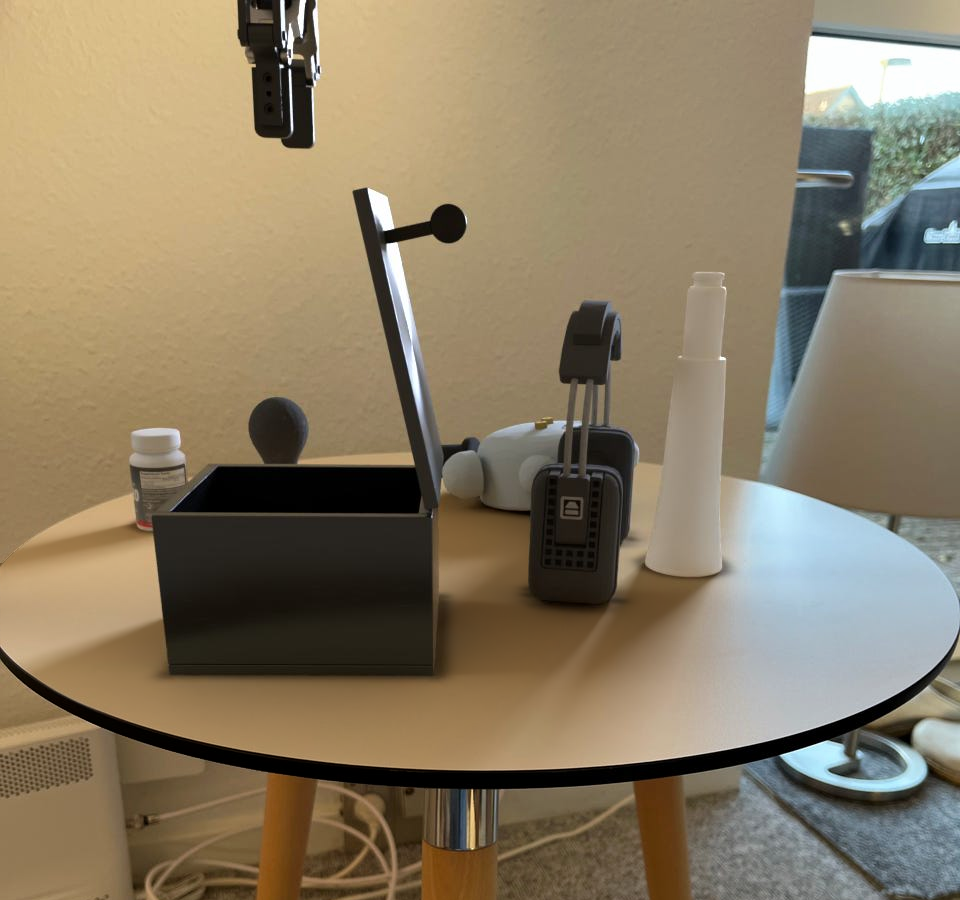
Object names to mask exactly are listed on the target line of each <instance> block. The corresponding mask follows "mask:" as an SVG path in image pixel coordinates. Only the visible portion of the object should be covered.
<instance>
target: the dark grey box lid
mask: <svg viewBox="0 0 960 900" xmlns="http://www.w3.org/2000/svg"><path fill="white" fill-rule="evenodd" d="M352 197H353V202H354V205H355V206H354V207H355V210H356V215H357V218H358V223H359V227H360V232H361V236H362V240H363V241H362V242H363V245H364V250H365V254H366V258H367V262H368V267H369V272H370V275H371V280H372V285H373V288H374V293H375V298H376V302H377V307H378V311H379V315H380V319H381V324H382V327H383V332H384V336H385V341H386V345H387V348H388V349H387V351H388V354H389V359H390V363H391V367H392V372H393V376H394V381H395V386H396V390H397V393H398V398H399V402H400V407H401V411H402V415H403V419H404V420H403V421H404V424H405V428H406V433H407V437H408V442H409V446H410V450H411V454H412V459H413V465H415V468H416V473H417V477H418V481H419V486H420V490H421V494H422V499H423V503H424V507H425V510H430V509H435V508H438V509H439V507H440V498H441V491H442V490H441V489H442V480H443V478H442V469H443V458H444V455H443V451H442V446H441V445H442V441H441V438H440V433H439V428H438V424H437V419H436V414H435V409H434V405H433V400H432V396H431V392H430V391H431V390H430V388H429V382H428V377H427V373H426V369H425V364H424V358H423V354H422V349H421V344H420V340H419V336H418V331H417V327H416V323H415V318H414V313H413V308H412V304H411V299H410V296H409V290H408V285H407V281H406V276H405V271H404V268H403V263H402V257H401V254H400V249H399V245H398V243H401V242H404V241H409V240H414V239H419V238H424V237H428V236H433V237H434V238H435V239H436V240H437V241H439V242H440V243H442V244H448V245H449V244H454V243H456V242H459V241H460V240H461V239H462V238H463V236H464V235H465V234H466V231H467V227H468V220H467V216H466V214H465V212H464V211H463V210H462V209H461V208H460V206H457V205H456V204H453V203H443V204H441V205H439V206H437V207H436V208H435V209H434V210H433V211H432V213H431V215H430V217H429V218H430V219H429V220H426V221H421V222H418V223H413V224H407V225H404V226H400V227H395V225H394V220H393V217H392V211H391V207H390V202H389V198H388V196H387V195H385V194H383V193H381V192H379V191H377V190H374V189H371V188H369V187H366V186H365V187H362V188H357V189H353V190H352Z"/></svg>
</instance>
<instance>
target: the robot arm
mask: <svg viewBox="0 0 960 900" xmlns="http://www.w3.org/2000/svg"><path fill="white" fill-rule="evenodd" d="M236 2H237V3H236V4H237V5H236V6H237V27H238V28H237V31H236V33H237V40H239V44H240V47H242V48H244V56H245V58H246V60H247V63H248V65H254V66H251V67H250V68H251V85H252V86H251V87H252V107H253V108H252V109H253V124H254V126H253V127H254V128H253V129H254V131H255V134H256V135H257V136H258V137H260V138H263V139H277V140H278V139H280V142H281V145H282V146H283V147H285V148H286V149H290V150H291V149H295V150H296V149H297V150H310V149H312V148H313V147H314V146H315V143H316V137H315V135H316V134H315V130H316V129H315V101H314V96H315V95H314V88H316V87H317V82H318V81H319V80H320V76H321V75H322V66H321V65H320V33H319V16H318V14H319V13H318V12H319V10H318V0H237V1H236ZM294 55H300V56H302V58H294Z"/></svg>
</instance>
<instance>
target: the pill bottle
mask: <svg viewBox="0 0 960 900" xmlns="http://www.w3.org/2000/svg"><path fill="white" fill-rule="evenodd" d="M130 439H131V440H130V441H131V442H130V443H131V449H132V450H133V451H134V452H133V453H132V454H131V455H130V456H129V461H128V462H129V464H128V465H129V472H130V480H131V488H132V489H131V490H132V497H133V504H134V513H135V522H136V526H137V528H138V529H140V530H142V531H146V532H153V528H152V519H151V516H152V515H153V514H154V513H155V512H156V511H157V510H158V509H159V508H160V507H161V506H162V505H163V504H165V503H166V502H167V501H168V500H169V499H170V498H171V497H172V496H173V495H174V494H176V493H177V492H178V491H179V490H180V489H181V488H182V487H183V486H184V485H185V484H187V483H188V482H189V476H188V463H187V458H186V457H187V456H186V455H185V453H184V452H183V451H181V450H179V449H180V448H181V444H182V441H181V434H180V431H179V429H176V428H170V427H153V428H151V427H150V428H143V429H137V430H134V431H132V432H131V433H130Z"/></svg>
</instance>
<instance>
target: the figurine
mask: <svg viewBox="0 0 960 900" xmlns="http://www.w3.org/2000/svg"><path fill="white" fill-rule="evenodd" d="M566 421H567V420H554V417H553V416H552V417H550V416H549V417H548V416H547V417H542V418H540V420H539V421H535V422H526V423H519V424H515V425H512V426H511V425H510V426H508V427H505V428H502V429H499V430H496V431H494V432H492V433H490V434H488V435H487V436H485V437H484V438H483V439H482V440H481V441H480V440H479V439H478V438H477V437H476V436H467V437H465V438H464V439H463V440H462V442H461V443H454V444H453V443H452V444H451V443H450V444H441V446H442V451H443V455H444V458H443V469H442V482H443V485H444V486H443V487H444V488H445V489H446V491H447V492H448V493H450V494H451V495H453V496H454V497H456V498H459V499H466V500H467V499H473V498H478V497H479V498H480V501H481V502H482V503H483V504H484V505H485V506H488V507H491V508H494V509H500V510H504V511H505V510H506V511H521V512H523V511H524V512H526V511H527V512H528V511H531V488H532V484H533V479H534V478H535V476H536V474H537V472H538V471H539V470H540V468H542V467H543V466H545V465H549V464H556V463H557V456H558V445H559V441H560V438H561V437H562V435H563V433H564V432H565V431H566ZM590 423H591V422H589V424H590ZM579 425H582V420H574V423H573V427H577V426H579ZM634 444H635V459H634V468H635V467H637V465H638V463H639V460H640V449H639V446H638V444H637V442H635V441H634Z"/></svg>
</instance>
